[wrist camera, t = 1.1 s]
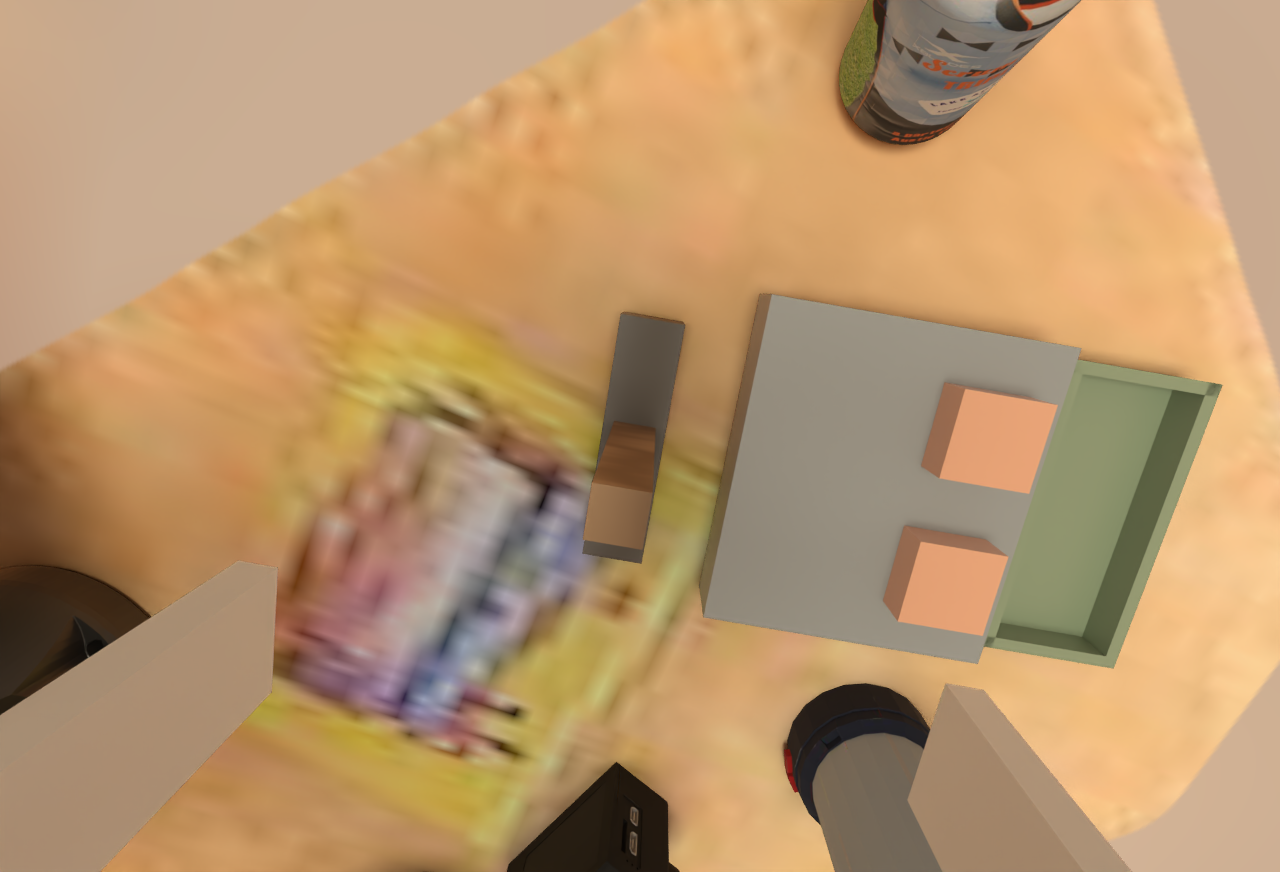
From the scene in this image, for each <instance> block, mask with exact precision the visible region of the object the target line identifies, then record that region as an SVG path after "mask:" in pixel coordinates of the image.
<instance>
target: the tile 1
mask: <svg viewBox="0 0 1280 872" xmlns="http://www.w3.org/2000/svg"><path fill="white" fill-rule="evenodd" d="M1007 560H1008V556H1007V555H1006V554H1004V553H1003V552H1002V551H1000V550H999V549H998V548H997V547H995V546H994V545H993V544H991V543H990V542H989V541H987V540H986V539H980V538H974V537H968V536H963V535H957V534H951V533H945V532H939V531H933V530H928V529H922V528H916V527H910V526H904V528H903V531H902V535H901V539H900V542H899V546H898V549H897V553H896V556H895V560H894V563H893V567H892V570H891V574H890V577H889V581H888V585H887V588H886V592H885V595H884V599H883V602H884V603H885V604H886V606H887V607H888V609H889V610H890V611H891V613H892V614H893V616H894V617H895V618H896V620H897V621H898V622H904V623H910V624H915V625H921V626H927V627H933V628H939V629H945V630H951V631H957V632H962V633H968V634H974V635H980V636H983V633H984V630H985V627H986V624H987V621H988V618H989V615H990V612H991V609H992V606H993V603H994V600H995V597H996V594H997V591H998V587H999V584H1000V581H1001V578H1002V575H1003V572H1004V569H1005V566H1006V563H1007Z"/></svg>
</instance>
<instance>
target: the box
mask: <svg viewBox="0 0 1280 872" xmlns="http://www.w3.org/2000/svg"><path fill="white" fill-rule="evenodd" d="M1221 388H1222V385H1221V384H1215V383H1210V382H1204V381H1198V380H1192V379H1187V378H1181V377H1175V376H1169V375H1164V374H1158V373H1152V372H1147V371H1141V370H1135V369H1129V368H1124V367H1118V366H1112V365H1106V364H1101V363H1095V362H1089V361H1083V360H1077V363H1076V366H1075V369H1074V373H1073V376H1072V379H1071V382H1070V385H1069V388H1068V391H1067V394H1066V397H1065V400H1064V403H1063V406H1062V409H1061V412H1060V415H1059V418H1058V421H1057V424H1056V427H1055V430H1054V433H1053V436H1052V440H1051V443H1050V446H1049V449H1048V452H1047V455H1046V458H1045V461H1044V464H1043V467H1042V470H1041V473H1040V476H1039V479H1038V482H1037V485H1036V488H1035V491H1034V494H1033V497H1032V500H1031V504H1030V507H1029V510H1028V513H1027V516H1026V519H1025V522H1024V525H1023V528H1022V531H1021V534H1020V537H1019V540H1018V543H1017V546H1016V549H1015V552H1014V555H1013V558H1012V561H1011V564H1010V567H1009V571H1008V574H1007V577H1006V580H1005V583H1004V586H1003V589H1002V592H1001V595H1000V598H999V601H998V604H997V607H996V610H995V613H994V616H993V619H992V622H991V625H990V628H989V631H988V635H987V638H986V641H985V644H984V647H990V648H996V649H1002V650H1008V651H1013V652H1019V653H1025V654H1031V655H1037V656H1043V657H1049V658H1055V659H1060V660H1066V661H1072V662H1078V663H1084V664H1090V665H1096V666H1102V667H1107V668H1113V669H1114V666H1115V664H1116V661H1117V658H1118V656H1119V653H1120V650H1121V648H1122V645H1123V643H1124V640H1125V637H1126V635H1127V632H1128V630H1129V627H1130V624H1131V622H1132V619H1133V617H1134V614H1135V611H1136V609H1137V606H1138V604H1139V601H1140V598H1141V596H1142V593H1143V591H1144V588H1145V585H1146V583H1147V580H1148V578H1149V575H1150V572H1151V570H1152V567H1153V565H1154V562H1155V559H1156V557H1157V554H1158V552H1159V549H1160V546H1161V544H1162V541H1163V539H1164V536H1165V533H1166V531H1167V528H1168V526H1169V523H1170V520H1171V518H1172V515H1173V513H1174V510H1175V507H1176V505H1177V502H1178V500H1179V497H1180V494H1181V492H1182V489H1183V487H1184V484H1185V481H1186V479H1187V476H1188V474H1189V471H1190V468H1191V466H1192V463H1193V461H1194V458H1195V455H1196V453H1197V450H1198V448H1199V445H1200V442H1201V440H1202V437H1203V435H1204V432H1205V429H1206V427H1207V424H1208V422H1209V419H1210V416H1211V414H1212V411H1213V409H1214V406H1215V403H1216V401H1217V398H1218V395H1219V393H1220V390H1221Z"/></svg>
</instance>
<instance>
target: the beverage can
mask: <svg viewBox="0 0 1280 872" xmlns="http://www.w3.org/2000/svg"><path fill="white" fill-rule="evenodd" d="M1080 1H1081V0H868V1H867V3H866V6H865V8H864V10H863V12H862V14H861V16H860V18H859V21H858V23H857V25H856V27H855V29H854V31H853V33H852V35H851V38H850V40H849V42H848V44H847V46H846V48H845V51H844V54H843V57H842V60H841V65H840V71H839V87H840V92H841V97H842V100H843V103H844V106H845V108H846V110H847V112H848V113H849V115H850V117H851V118H852V120H853V121H854V122H855V123H856V124H857V125H858V126H859V127H860V128H861V129H862V130H863V131H865V132H866V133H867V134H868V135H870V136H872V137H874V138H876V139H878V140H881V141H884V142H887V143H891V144H899V145H907V144H917V143H921V142H925V141H928V140H930V139H933V138H935V137H937V136H939V135H941V134H942V133H944V132H945V131H947V130H948V129H950V128H951V127H952V126H953V125H954V124H955V123H956V122H958V121H959V120H960V119H961V118H962V117H963V116H964V115H965V114H966V113H967V112H968V111H969V110H970V109H971V108H972V107H973V106H974V105H975V104H976V103H977V102H978V101H979V100H980V99H981V98H982V97H983V96H984V95H985V94H986V93H987V92H988V91H989V90H990V89H991V88H992V87H993V86H994V85H995V84H996V83H997V82H998V81H999V80H1000V79H1001V78H1003V77H1004V76H1005V75H1006V74H1007V73H1008V72H1009V71H1010V70H1011V69H1012V68H1013V67H1014V66H1015V65H1016V64H1017V63H1018V62H1019V61H1020V60H1021V59H1022V58H1023V57H1024V56H1025V55H1026V54H1027V53H1028V52H1029V51H1030V50H1031V49H1032V48H1033V47H1034V46H1035V45H1036V44H1037V43H1038V42H1039V41H1040V40H1041V39H1042V38H1043V37H1044V36H1045V35H1046V34H1047V33H1048V32H1050V31H1051V30H1052V29H1053V28H1054V27H1055V26H1056V25H1057V24H1058V23H1059V22H1060V21H1061V20H1062V19H1063V18H1064V17H1065V16H1066V15H1067V14H1068V13H1069V12H1070V11H1071V10H1072V9H1073V8H1074V7H1075V6H1076V5H1077V4H1078V3H1079V2H1080Z"/></svg>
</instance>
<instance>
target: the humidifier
mask: <svg viewBox="0 0 1280 872" xmlns="http://www.w3.org/2000/svg"><path fill="white" fill-rule="evenodd" d="M929 732H930V729H929V727H928V725H927V724H926V722H925V720H924V719H923V717H922V716H921V714H920V713H919V711H918V710H917V709H916V708H915V707H914V706H913V705H912V704H911V703H910V702H909V700H908V699H907V698H905V697H903V696H902V695H900V694H898V693H896V692H894V691H892V690H891V689H889V688H885V687H881V686H876V685H871V684H853V685H843V686H840V687H837V688H835V689H832V690H829V691H826V692H824V693H822V694H820V695H819V696H818V697H816V698H815V699H814V700H812V701H811V702H809V703H808V704H807V705H805V707H804V708H803V709H802V711H801V712H800V713H799V715H798V716H797V717H796V719H795V720H794V722H793V724H792V727H791V731H790V734H789V737H788V740H787V742H788V749H785V750H784V759H785V768H786V773H787V777H788V779H789V781H790V784H791V786H792V788H793V790H794V792H795V793H796V792H799V794H800V796H801V798H802V800H803V803H804V805H805V806H806V808H807V810H808V812H809V814H810V815H811V816H812V817H813V818H814V819H815V820H816V821H817V822H818V823H819V824H820V825H821V827H822V830H823V834H824V837H825V840H826V844H827V847H828V850H829V854H830V857H831V860H832V864H833V867H834V870H835V872H942V870H941V868H940V866H939V864H938V862H937V860H936V858H935V856H934V854H933V852H932V849H931V847H930V845H929V843H928V841H927V839H926V837H925V835H924V833H923V831H922V829H921V827H920V825H919V823H918V821H917V819H916V817H915V815H914V813H913V811H912V809H911V807H910V805H909V803H908V801H907V800H908V797H909V794H910V791H911V788H912V784H913V781H914V778H915V775H916V772H917V769H918V766H919V763H920V760H921V757H922V754H923V751H924V748H925V744H926V741H927V738H928V735H929Z"/></svg>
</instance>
